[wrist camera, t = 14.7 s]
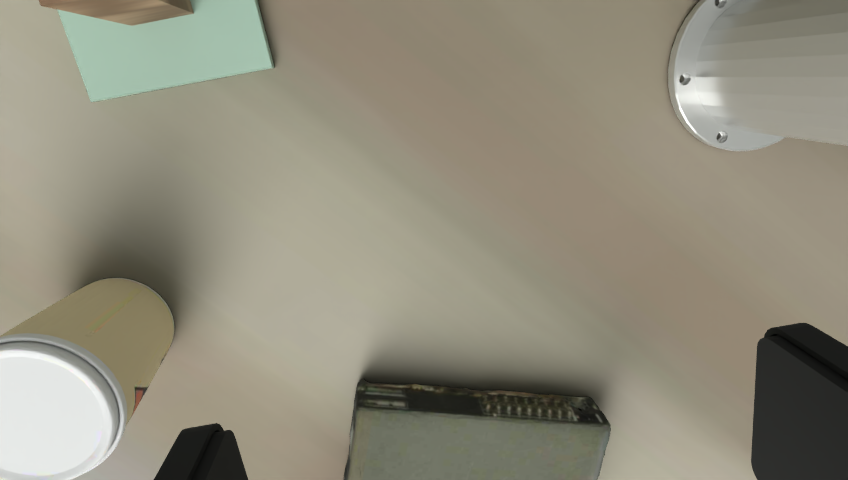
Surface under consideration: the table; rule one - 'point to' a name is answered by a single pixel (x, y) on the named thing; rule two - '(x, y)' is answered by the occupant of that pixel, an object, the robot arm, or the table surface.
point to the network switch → (473, 435)
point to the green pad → (168, 48)
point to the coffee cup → (78, 377)
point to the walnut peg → (124, 9)
